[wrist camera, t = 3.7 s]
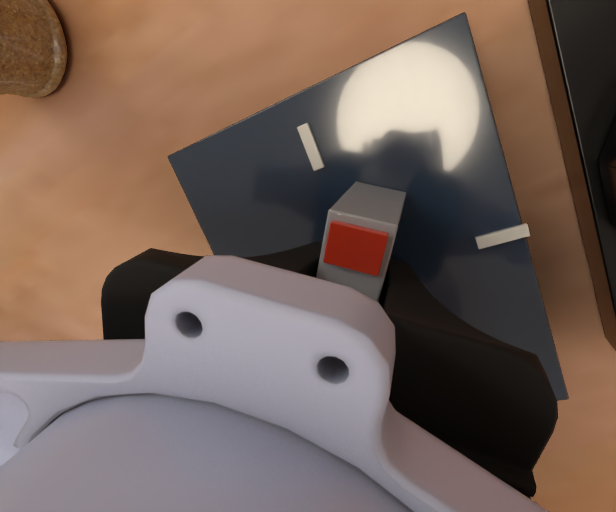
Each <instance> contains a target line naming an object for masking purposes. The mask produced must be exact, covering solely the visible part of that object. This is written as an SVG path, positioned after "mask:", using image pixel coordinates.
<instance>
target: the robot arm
mask: <svg viewBox="0 0 616 512" xmlns="http://www.w3.org/2000/svg"><path fill="white" fill-rule="evenodd" d="M321 247H322V241H318V242H314V243H310V244H307V245H303V246H300V247H297V248H293V249H289V250H285V251H281V252H277V253H272V254H267V255H261V256H252V257H236V256H232V255H207V256H205V257H203V256H193V255H185V254H179V253H174V252H168V251H162V250H157V249H153V248H150V249H148V250H147V251H145V252H143V253H141V254H139V255H137V256H135V257H134V258H132V259H130V260H128V261H126V262H124V263H122V264H121V265H119V266H117V267H115V268H114V269H113V270H112V271H111V273H110V274H109V275H108V276H107V277H106V280H105V282H104V285H103V288H102V297H101V307H102V321H103V336H104V340H54V341H0V512H549V511H547V510H546V509H544V508H543V507H541V506H540V505H538V504H537V503H535V502H534V501H532V500H531V498H530V496H531V497H533V496H534V494H535V493H536V483H535V480H534V476H533V473H532V470H533V468H534V466H535V464H536V463H537V461H538V459H539V457H540V455H541V453H542V452H543V450H544V448H545V446H546V444H547V442H548V441H549V439H550V437H551V435H552V433H553V431H554V428H555V425H556V422H557V419H558V407H557V399H556V397H555V394H554V392H553V390H552V387H551V384H550V381H549V379H548V376H547V374H546V372H545V370H544V368H543V366H542V364H541V362H540V360H539V358H538V356H537V355H536V354H534V353H531V352H528V351H526V350H523V349H520V348H518V347H515V346H512V345H510V344H507V343H505V342H502V341H500V340H498V339H496V338H494V337H492V336H490V335H488V334H486V333H484V332H482V331H480V330H478V329H476V328H475V327H473V326H471V325H470V324H468V323H466V322H465V321H463V320H462V319H460V318H459V317H457V316H456V315H455V314H453V313H452V312H451V311H449V310H448V309H447V308H446V307H445V306H444V305H442V304H441V303H440V302H439V301H438V300H437V299H436V298H435V297H434V296H433V295H432V294H431V293H430V292H429V290H428V289H427V288H426V287H425V286H424V284H423V283H422V282H421V281H420V279H419V278H418V276H417V275H416V274H415V272H414V270H413V269H412V267H411V266H410V264H409V263H408V262H405V261H401V260H397V259H393V258H390V260H389V264H388V268H387V272H386V276H385V279H384V283H383V287H382V291H381V295H380V299H379V302H377V301H375V300H373V299H372V298H370V297H368V296H366V295H364V294H362V293H360V292H359V291H357V290H355V289H353V288H351V287H348V286H344V285H340V284H337V283H333V282H329V281H325V280H322V279H318V278H316V274H317V269H318V263H319V258H320V252H321Z"/></svg>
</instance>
